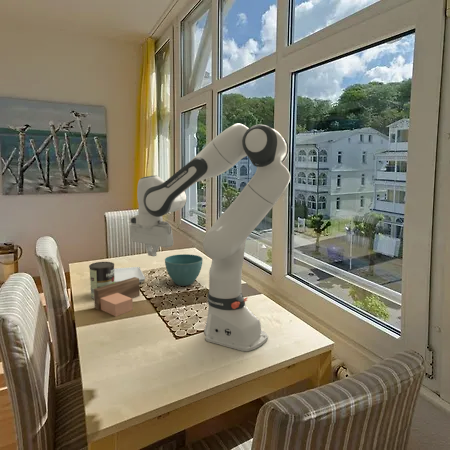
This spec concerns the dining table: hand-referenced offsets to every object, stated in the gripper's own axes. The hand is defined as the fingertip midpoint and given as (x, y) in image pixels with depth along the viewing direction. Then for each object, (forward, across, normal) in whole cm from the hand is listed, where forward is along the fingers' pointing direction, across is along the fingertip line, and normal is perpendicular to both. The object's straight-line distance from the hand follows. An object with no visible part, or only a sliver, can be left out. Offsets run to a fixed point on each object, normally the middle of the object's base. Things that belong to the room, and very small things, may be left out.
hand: (152, 255), depth 136 cm
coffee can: (+23, +32, +1) cm, 39 cm away
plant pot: (+24, +16, -34) cm, 44 cm away
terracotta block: (+23, +15, +7) cm, 28 cm away
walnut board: (+23, +21, +1) cm, 31 cm away
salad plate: (+23, +44, -17) cm, 52 cm away
